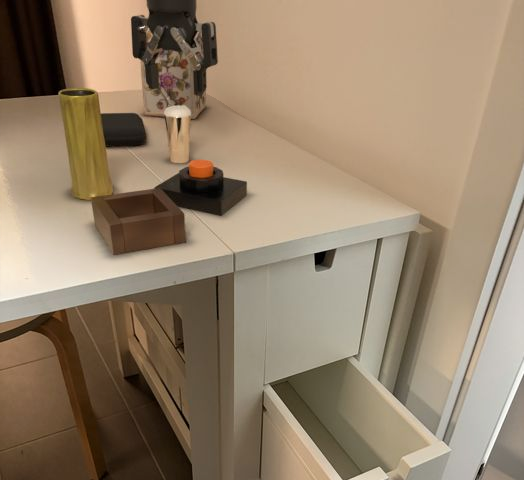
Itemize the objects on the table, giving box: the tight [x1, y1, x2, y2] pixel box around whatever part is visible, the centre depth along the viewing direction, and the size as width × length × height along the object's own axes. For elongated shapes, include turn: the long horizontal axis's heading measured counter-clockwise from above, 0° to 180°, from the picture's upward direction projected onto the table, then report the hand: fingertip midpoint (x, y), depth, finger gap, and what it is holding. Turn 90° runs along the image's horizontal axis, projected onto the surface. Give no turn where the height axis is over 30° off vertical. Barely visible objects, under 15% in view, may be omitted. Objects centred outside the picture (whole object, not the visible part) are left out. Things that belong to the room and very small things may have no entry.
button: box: [188, 159, 214, 178], centre depth 82 cm, size 4×4×2 cm
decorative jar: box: [140, 28, 207, 120], centre depth 120 cm, size 12×12×18 cm
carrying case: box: [101, 112, 148, 147], centre depth 107 cm, size 11×3×15 cm
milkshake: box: [163, 96, 192, 164], centre depth 95 cm, size 4×5×10 cm
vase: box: [58, 87, 114, 201], centre depth 80 cm, size 6×6×14 cm
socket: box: [90, 188, 186, 256], centre depth 72 cm, size 10×10×4 cm
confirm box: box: [153, 166, 248, 216], centre depth 83 cm, size 11×9×4 cm
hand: (176, 91), depth 92 cm, fingers open, 8 cm apart
